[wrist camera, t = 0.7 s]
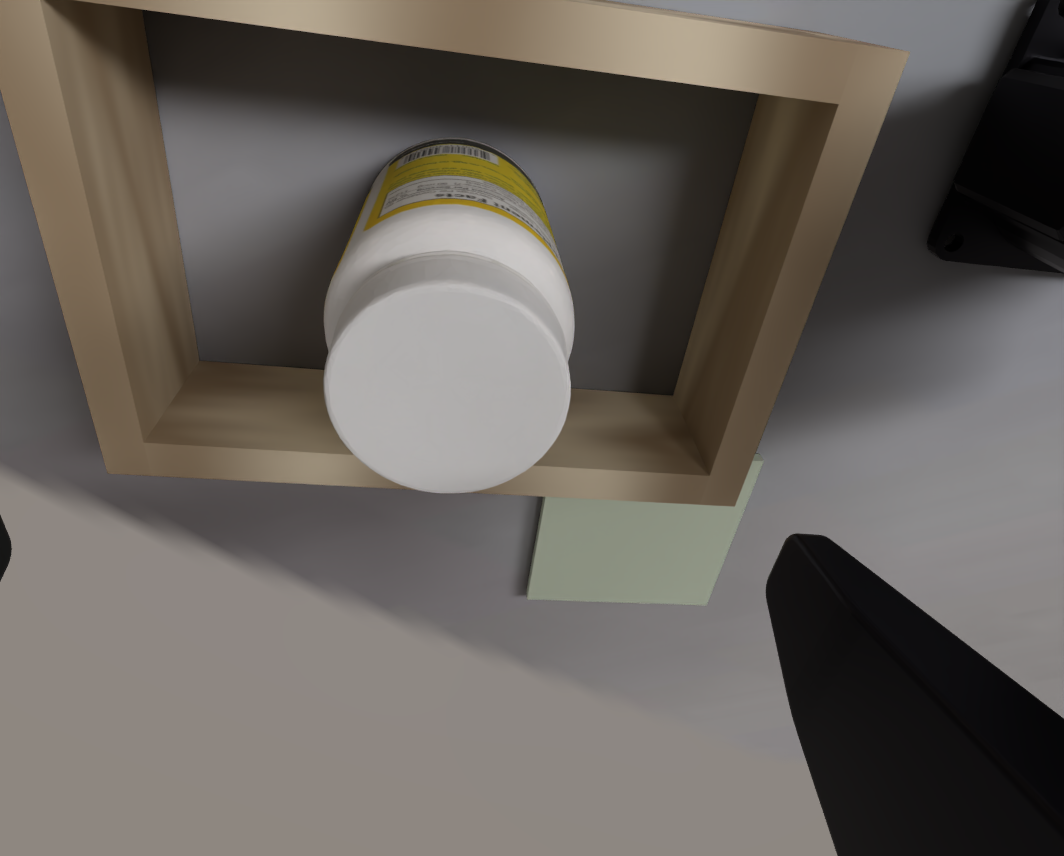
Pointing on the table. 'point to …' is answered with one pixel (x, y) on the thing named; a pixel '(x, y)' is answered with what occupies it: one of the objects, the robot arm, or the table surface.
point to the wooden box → (298, 394)
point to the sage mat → (633, 549)
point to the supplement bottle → (449, 323)
